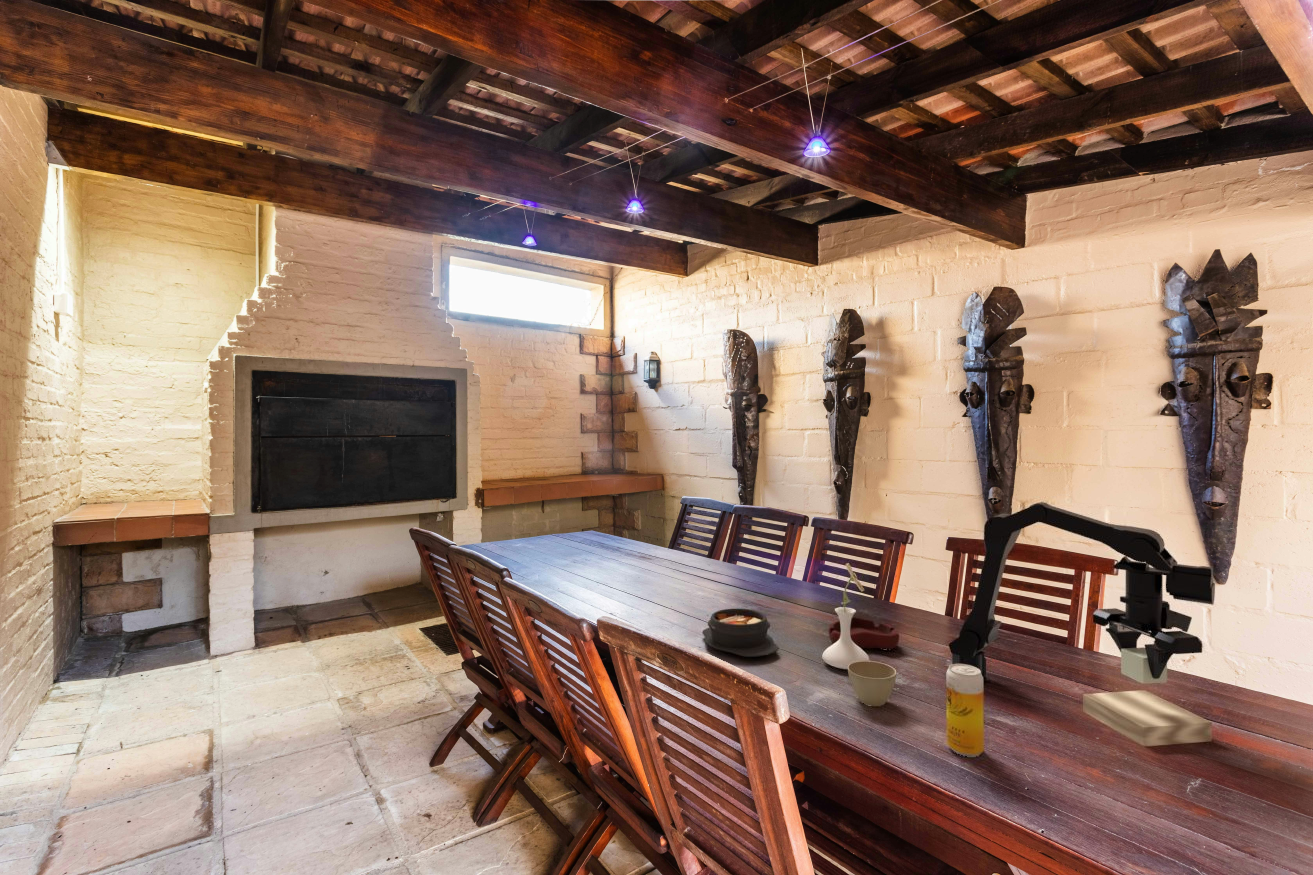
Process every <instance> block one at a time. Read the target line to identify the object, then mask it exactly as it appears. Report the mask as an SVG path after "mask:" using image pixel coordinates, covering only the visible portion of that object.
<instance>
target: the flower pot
mask: <svg viewBox="0 0 1313 875" xmlns="http://www.w3.org/2000/svg"><path fill="white" fill-rule="evenodd" d="M847 672H848V673H847V674H848V677H849V680H850V681H849V682H850V684H851V686H852V688H853V691H854V693H855V695H856V696H857V698H858V700H859V701H860V702H861V703H862V704H863V703H864V704H863V705H865V704H867V705H866V706H868V705H871V706H870V707H872V706H879V707H882V706H884V705H885V704H886V703H887V701H888V700H889V698H890V696H891V695H892V693H893V691H894V687H895V684H896V679H897V670H896V668H894V667H893V666H891V665H889V664H886V663H883V662H880V661H875V660H874V661H873V660H870V661H857V662H853V663H851V664H849V665H848V669H847ZM881 705H882V706H881Z"/></svg>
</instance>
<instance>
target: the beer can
mask: <svg viewBox="0 0 1313 875" xmlns="http://www.w3.org/2000/svg"><path fill="white" fill-rule="evenodd" d="M945 677H946V684H945V685H946V688H945V689H946V744H947V746H948V747H949V749H950V748H951V749H952V750H953V751H954V752H953V751H952V750H951V749H950V750H951V751H952V752H953V753H955V752H956V753H957V755H958V754H960V755H959V756H961V755H963V756H962V757H965V756H967V757H966V758H976V756H977V757H979V756H980V755H981V754H982V753H983V752H984V749H985V746H984V744H985V743H984V741H985V739H984V736H985V735H984V734H985V733H984V731H985V730H984V728H985V727H984V726H985V725H984V715H985V714H984V709H985V708H984V705H985V704H984V682H983V676H982V674H981V671H980V670H979V669H978V668H976V667H974V666H971V665H966V664H949V666H948V668H947V670H946V676H945ZM956 753H955V754H956Z"/></svg>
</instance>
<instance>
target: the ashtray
mask: <svg viewBox="0 0 1313 875" xmlns="http://www.w3.org/2000/svg"><path fill="white" fill-rule="evenodd" d="M828 636H829V639H830V642H831V643H832V645H833V644H834V643H836V642H837V641H838V640H839V639H840V636H841V625H840V620H837V621H836V622H832V623H830V624H829V626H828ZM850 636H851V640H852V641H853V642H854V643H855V644H856V645H857V646H858V647H860V648H861V649H863V648H868V649H880V648H882V649H887V650H889V649H891V648H892V649H894V648H896V647H897V646H898V645H899V642H900V634H899V632H898V631H897V630H896V629H895V628H894V627H893V626H892V625H890V624H888V623H887V624H886V623H883V622H880V623H879V625H876V624H875V621H873V620H871V619H867V618H862V617H858V616H852V619H851V624H850Z"/></svg>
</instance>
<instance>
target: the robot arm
mask: <svg viewBox="0 0 1313 875" xmlns="http://www.w3.org/2000/svg"><path fill="white" fill-rule="evenodd" d="M1037 523H1042V524H1045V525H1048V526H1050V527H1054V528H1056V529H1060V530H1063V531H1066V532H1068V533H1072V534H1075V535H1078V536H1081V537H1084V538H1086V539H1089V540H1093V541H1095V542H1096V541H1097V542H1099V543H1101V544H1103V545H1105V546H1108V547H1109V548H1111V550H1114V551H1115V552H1116V553H1119V554H1121V555H1123V557H1122V558H1121V559H1120V560H1119V561H1117V562H1116V563H1115V564H1113V565H1112V568H1113V569H1115V570H1123V571H1125V596H1124V595H1123V596H1121V595H1120V596H1119V601H1120V602H1121V603H1124V604H1125V606H1124V607H1125V608H1124V609H1125V610H1123V609H1118V608H1116V607H1115V608H1114V607H1113V608H1099V609H1098V608H1097V609H1095V611H1094V612H1093V613H1092V623H1094V624H1096V625H1099V626H1102V627H1105V632H1106V633H1108V634H1109V635H1110V637H1111V638H1112V640H1113V642H1114V644H1115V645H1116V648H1118V650H1119V652H1120V653H1121V649H1125V648H1138V640H1139V638H1140V637H1141V635H1145V636H1146V637H1149V638H1151V639H1154V641H1153V643H1149V644H1147V643H1146V644H1144V648H1145V650H1146V654H1147V658H1148V663H1149V667H1150V671H1151V674H1152V677H1153V678H1154V679H1159V678H1160V676H1161V674H1162V672H1163V670H1164V668H1165V666H1166V664H1167V665H1168V662H1169V660H1170V659H1171V657H1172V656H1173V655H1185V654H1187V655H1188V654H1202V653H1203V641H1202V639H1200V638H1199V636H1196V635H1193V634H1190V633H1188V631H1189V629H1190V625H1191V622H1192V619H1193V617H1192V616H1189V615H1187V614H1184V613H1181V612H1177V611H1175V610H1172V609H1171V608H1170V607H1171V606H1170V603H1169V601H1166V600H1163V599H1164V596H1163V592H1164V590H1163V586H1164V585H1163V584H1164V583H1163V581H1164V580H1163V577H1164V576H1165V592H1166V593H1168V594H1169V596H1171V597H1172V598H1173V600H1179V601H1185V602H1191V603H1192V602H1193V603H1198V604H1199V603H1200V604H1204V605H1205V604H1206V605H1212V606H1213V605H1214V604H1215V596H1216V582H1215V581H1214V574H1213V569H1214V568H1213V567H1212V566H1207V565H1206V566H1204V565H1202V566H1201V565H1200V566H1199V565H1198V566H1197V565H1188V564H1178V561H1177V560H1176V559H1175V558H1174V557H1173V555H1172V554H1171V553H1170V552H1169V551H1168V550H1167V549H1166V548H1165V540H1164V539H1163V537H1162V535H1161V534H1160V533H1159V532H1157V531H1155V530H1153V529H1149V528H1143V527H1136V526H1130V525H1121V524H1114V523H1113V524H1112V523H1109V522H1105V521H1102V520H1099V519H1095V518H1092V517H1089V516H1085V515H1082V514H1080V513H1076V512H1074V511H1069V510H1067V509H1063V508H1059V507H1056V506H1053V505H1051V504H1049V503H1047V502H1043V501H1041V502H1036V503H1035V502H1034V503H1032V504H1031V505H1029V506H1028V507H1026V508H1024V509H1021V510H1018V511H1017V512H1015V513H1012V514H1011V513H1001V514H998V515H994V516H992V517H990V518H989V519H987V520H986V521H985V524H984V526H983V544H984V549H985V554H984V558H983V563H982V566H981V571H980V575H979V579H978V582H977V583H978V585H977V588H976V592H975V597H974V601H973V604H972V609H971V610H970V612H969V613H968V615H967V617H966V618H965V620H964V622H963V624H962V626H961V628H960V630H959V633H958V637H957V638H955V639H954V640H953V641H951V642H950V643H948V649H949V650H950V653H951V663H952V664H966V665H971V666H974V667H976V668H978V669H979V670H980V671H981V674H982V676H983V683H984V682H990V678H989V677H987V658H986V657H985V654H986V652H984V650H985V649H986V647H987V646H988V645H989V644H991V643H993V641H994V640H996V639H997V638H999V629H1000V627H1001V625H1002V621H1001V620H997V619H996V618H995V608H996V604H997V600H998V595H999V592H1000V587H1001V584H1002V580H1003V575H1004V571H1005V568H1006V562H1007V558H1008V555H1009V553H1010V552H1011V550H1012V549H1013V547H1014V546H1015V544H1016V542H1017V540H1018V539H1019V535H1020V533H1021V531H1022V530H1023V529H1025V528H1027V527H1030V526H1032V525H1034V524H1037ZM1132 560H1133V561H1132ZM1106 626H1108V628H1106ZM1174 628H1177V629H1178V630H1173V631H1172V629H1174ZM1163 629H1165V630H1169V631H1164V630H1163ZM952 664H951V665H952Z"/></svg>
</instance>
